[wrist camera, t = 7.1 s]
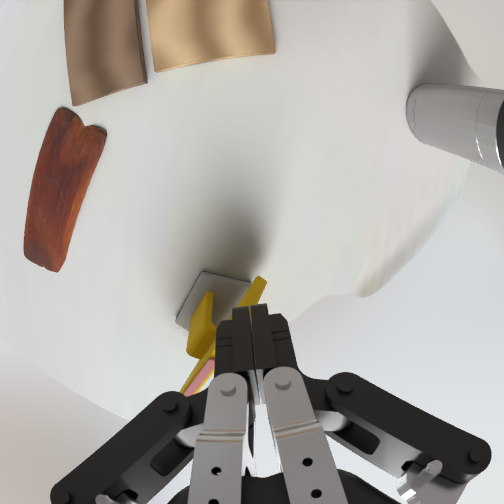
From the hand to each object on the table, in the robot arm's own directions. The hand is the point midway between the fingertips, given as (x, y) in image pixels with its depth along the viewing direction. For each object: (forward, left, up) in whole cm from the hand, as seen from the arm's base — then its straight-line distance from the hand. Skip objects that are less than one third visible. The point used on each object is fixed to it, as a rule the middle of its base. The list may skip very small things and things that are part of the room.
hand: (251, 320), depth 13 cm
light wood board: (+1, -23, -27) cm, 35 cm away
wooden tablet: (+28, -2, -28) cm, 39 cm away
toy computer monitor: (+7, +20, -27) cm, 34 cm away
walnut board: (+14, -23, -27) cm, 38 cm away
